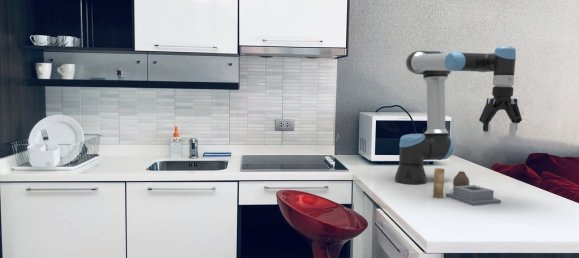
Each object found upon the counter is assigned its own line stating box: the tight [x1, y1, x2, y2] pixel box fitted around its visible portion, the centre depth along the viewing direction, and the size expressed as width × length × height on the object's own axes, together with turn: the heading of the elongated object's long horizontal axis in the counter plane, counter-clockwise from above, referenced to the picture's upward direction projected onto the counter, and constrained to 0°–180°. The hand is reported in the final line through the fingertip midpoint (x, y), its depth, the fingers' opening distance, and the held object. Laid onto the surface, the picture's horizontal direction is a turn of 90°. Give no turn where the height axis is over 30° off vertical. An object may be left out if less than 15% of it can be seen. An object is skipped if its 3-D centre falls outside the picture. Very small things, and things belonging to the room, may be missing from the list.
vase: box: [452, 170, 470, 187], centre depth 202 cm, size 7×7×9 cm
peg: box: [432, 167, 445, 199], centre depth 189 cm, size 4×4×12 cm
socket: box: [445, 184, 502, 206], centre depth 186 cm, size 16×14×5 cm
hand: (499, 139), depth 180 cm, fingers open, 13 cm apart
